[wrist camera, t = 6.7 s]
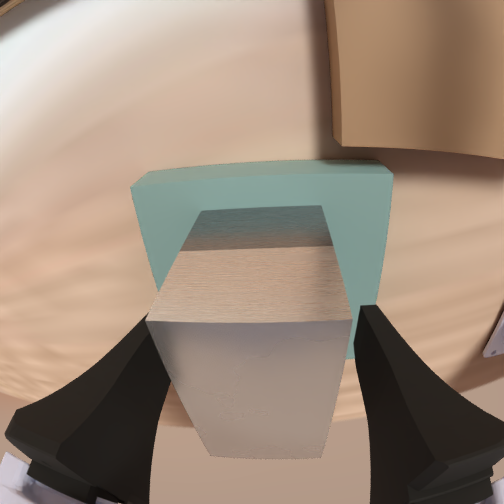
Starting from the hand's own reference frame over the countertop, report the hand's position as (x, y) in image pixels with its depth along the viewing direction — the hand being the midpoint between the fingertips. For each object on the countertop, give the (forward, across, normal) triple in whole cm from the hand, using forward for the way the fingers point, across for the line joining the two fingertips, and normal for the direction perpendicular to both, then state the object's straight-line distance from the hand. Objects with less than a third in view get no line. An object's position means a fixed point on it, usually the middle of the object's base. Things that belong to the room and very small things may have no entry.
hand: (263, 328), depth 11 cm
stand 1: (+4, 0, 0) cm, 4 cm away
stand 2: (+4, -8, -11) cm, 14 cm away
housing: (+2, 0, 0) cm, 2 cm away
